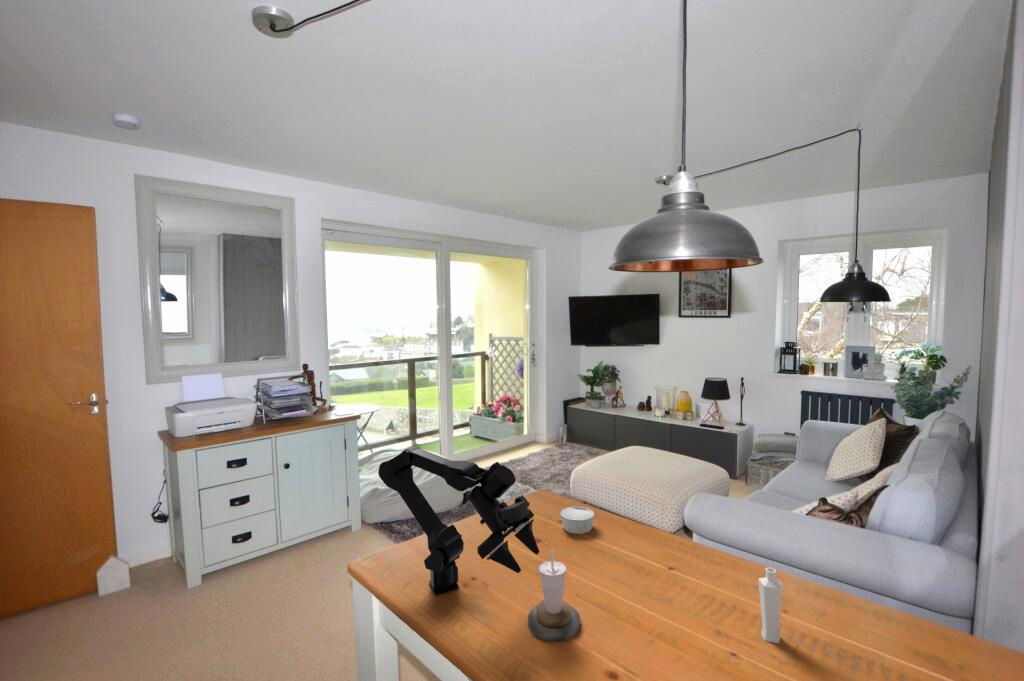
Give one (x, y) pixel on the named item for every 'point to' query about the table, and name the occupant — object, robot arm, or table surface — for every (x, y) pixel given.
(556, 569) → the white drink cup
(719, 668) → the table surface
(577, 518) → the ramekin
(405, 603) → the table surface
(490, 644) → the table surface
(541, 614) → the pedestal
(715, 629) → the table surface
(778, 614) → the perfume bottle
